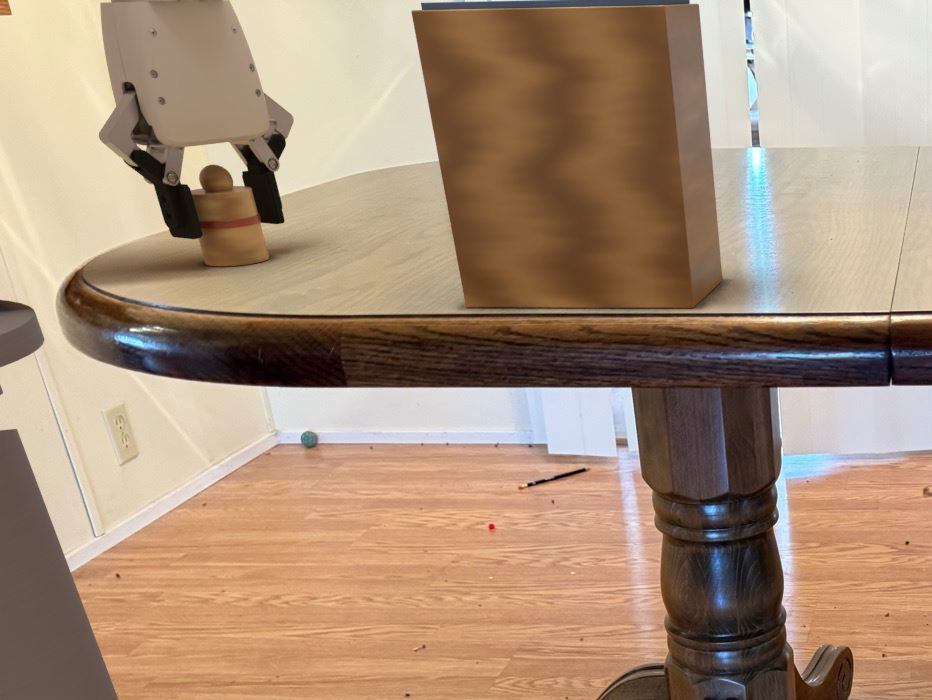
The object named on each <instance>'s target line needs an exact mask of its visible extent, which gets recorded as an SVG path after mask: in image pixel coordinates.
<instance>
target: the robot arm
mask: <svg viewBox="0 0 932 700" xmlns="http://www.w3.org/2000/svg"><path fill="white" fill-rule="evenodd" d="M99 7H100V25H101V34H102V35H101V36H102V42H103V48H104V55H105V61H106V65H107V72H108V76H109V81H110V85H111V90H112V95H113V99H114V103H115V107H114V109H113V111H112V112H111V114H110V115H109V116H108V118H107V120H106V121H105V123H104V124H103V126H102V128H101V129H100V130H99V132H98V138H99V140H100V142H101V143H102V144H104V145H105V146H106V147H107V148H108V149H109V150H111V151H112V152H113V153H114V154H115V155H117V156H118V157H119V158H121V159H122V160H123V162H124V164H126V165H127V166H128V167H130V168H131V170H134V171H135V172H136V173H138V175H140V176H142V177H143V180H144V181H145V182H146V183H148V184H149V185H153V187H154V190H155V195H156V198H157V202H158V205H159V208H160V212H161V215H162V218H163V221H164V224H165V225H166V227H167V228H168V231H169V234H170V235H171V236H172V237H173V238H177V239H186V240H187V239H188V240H197V239H198V238H201V236H202V235H203V233H202V229H201V225H200V222H199V218H198V215H197V211H196V208H195V204H194V200H193V197H192V193H191V190H192V189H191V188H190V186H189V185H188V184H185V183H182V182H181V175H182V169H183V161H184V154H185V149H186V148H187V147H189V148H190V147H197V146H206V145H215V144H216V145H217V144H223V143H229V144H230V145H231V147H232V148H233V150H234V151H235V152H236V154H237V155H238V157H239V158H240V160H241V161H242V162H243V164H244V165H245V167H246V168H247V170H244V171H241V173H242V175H241V178H242V182H243V186H246V187H251V188H252V192H253V196H254V200H255V204H256V208H257V211H258V213H259V214H260V218H261V222H260V223H261V224H270V225H280V224H284V223H285V215H284V212H283V203H282V202H283V201H282V199H281V195H280V191H279V186H278V182H277V179H276V175H275V173H276V172H278V171H279V169H280V167H281V166H280V165H281V163H280V158H281V156H282V154H283V153H284V151H285V148H286V146H287V140H286V139H288V137H289V135H290V132H291V129H292V127H293V125H294V121H295V119H294V116H293V115H292V114H291V112H289V111H288V110H286V109H285V108H284V107H283V106H282V105H280V103H278V102H276V101H275V100H274V99H273V98H272V97H270V96H269V95H268V94H266V92H264V90H263V86H262V83H261V79H260V75H259V73H258V69H257V66H256V62H255V60H254V57H253V54H252V51H251V49H250V46H249V43H248V40H247V38H246V35H245V32H244V29H243V27H242V25H241V22H240V20H239V18H238V16H237V13H236V11H235V9H234V7H233V5H232V3H231V0H110V2H100V5H99ZM138 145H139V146H138ZM140 146H146V148H145V150H144V149H142V148H141V147H140ZM185 147H186V148H185ZM198 240H199V239H198Z"/></svg>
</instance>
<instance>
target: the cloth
mask: <svg viewBox="0 0 932 700" xmlns="http://www.w3.org/2000/svg"><path fill="white" fill-rule="evenodd" d="M690 1H691V0H495V1H494V0H487V1H485V0H483V1H482V0H481V1H478V0H477V1H439V2H438V1H435V2H434V1H433V2H420V5H421V6H420V7H421V10H449V9H497V8H546V7H595V6H643V5H675V4H691V2H690Z"/></svg>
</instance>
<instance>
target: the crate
mask: <svg viewBox="0 0 932 700" xmlns="http://www.w3.org/2000/svg"><path fill="white" fill-rule="evenodd" d="M699 4H700V3H690V4H675V5H643V6H595V7H546V8H497V9H449V10H422V9H412V10H411V11H410V12H411V17H412V22H413V27H414V34H415V39H416V44H417V49H418V56H419V61H420V66H421V71H422V78H423V82H424V86H425V87H424V88H425V93H426V99H427V105H428V109H429V115H430V120H431V125H432V131H433V136H434V142H435V147H436V152H437V157H438V164H439V169H440V174H441V179H442V185H443V190H444V197H445V201H446V206H447V212H448V217H449V223H450V228H451V233H452V239H453V244H454V250H455V255H456V260H457V266H458V271H459V275H460V281H461V287H462V293H463V298H464V305H465V307H466V308H497V309H498V308H499V309H501V308H504V309H505V308H510V309H511V308H512V309H513V308H527V309H528V308H530V309H531V308H538V309H539V308H545V309H547V308H550V309H551V308H555V309H558V308H560V309H561V308H563V309H568V308H569V309H570V308H571V309H573V308H574V309H575V308H576V309H578V308H579V309H582V308H583V309H590V308H592V309H593V308H595V309H614V308H615V309H620V308H621V309H693V308H695V307H696V306H697V305H698V304H699V303H701V302H702V300H704V298H706V296H708V295H709V294H710V293H711V292H712V291H714V289H715V288H717V286H718V285H720V284H721V283H722V282H723V270H722V269H723V268H722V257H721V247H720V235H719V224H718V223H719V221H718V211H717V200H716V199H717V198H716V189H715V177H714V176H715V175H714V165H713V152H712V141H711V127H710V118H709V107H708V95H707V83H706V81H707V80H706V72H705V59H704V48H703V47H704V46H703V35H702V23H701V13H700V5H699Z"/></svg>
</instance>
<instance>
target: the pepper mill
mask: <svg viewBox="0 0 932 700" xmlns="http://www.w3.org/2000/svg"><path fill="white" fill-rule="evenodd" d="M198 181H199V184H200V186H201V188H196V189H195V188H194V189H190V190H191V193H192V197H193V200H194V204H195V208H196V211H197V215H198V218H199V222H200V225H201V229H202V233H203V235H202V236H201V238H198V241H199V246H200V250H201V252H202V256H203V260H204V263H205V265H207V266H211V267H237V266H246V265H253V264H258V263H262V262H265V261H268V260H269V259H270V256H269V250H268V247H267V243H266V238H265V235H264V232H263V227H262V223H260V222H261V218H260V214H259V213H258V211H257V208H256V204H255V200H254V196H253V192H252V188H251V187H246V186H244V185H234V179H233V176H232V175H231V173H230V172H229V171H228V169H226V168H225V167H224V166H221V165H219V164H207V165H206V166H204V167H202V169H201V170H200V171H199V176H198Z"/></svg>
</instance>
